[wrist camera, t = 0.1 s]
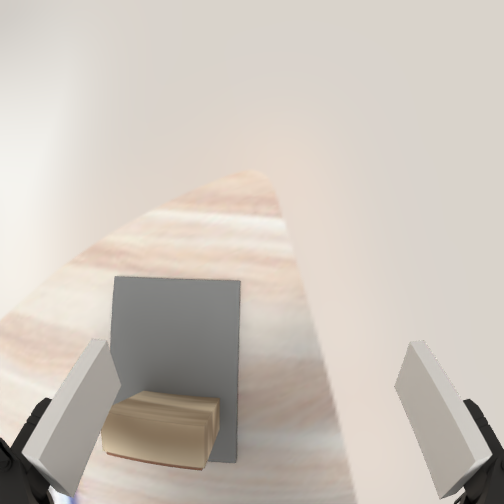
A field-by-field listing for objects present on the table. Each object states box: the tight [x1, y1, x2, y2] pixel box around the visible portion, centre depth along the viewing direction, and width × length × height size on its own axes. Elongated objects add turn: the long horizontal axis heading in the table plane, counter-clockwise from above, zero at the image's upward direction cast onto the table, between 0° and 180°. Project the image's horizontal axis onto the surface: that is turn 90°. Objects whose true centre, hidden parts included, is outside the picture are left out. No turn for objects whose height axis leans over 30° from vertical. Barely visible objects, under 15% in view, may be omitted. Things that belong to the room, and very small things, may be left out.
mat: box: [110, 276, 240, 463], centre depth 26 cm, size 17×12×1 cm
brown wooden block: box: [101, 391, 220, 470], centre depth 21 cm, size 3×7×9 cm, turn 89°
